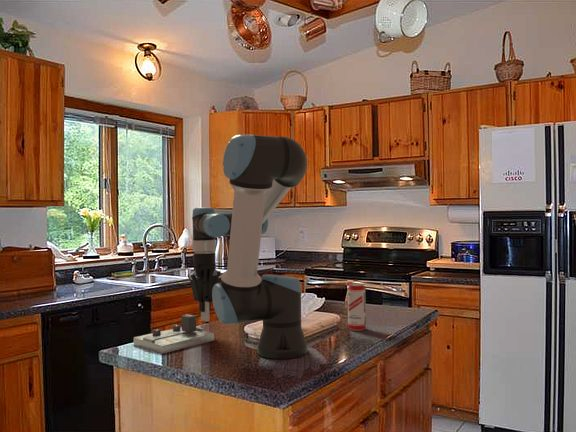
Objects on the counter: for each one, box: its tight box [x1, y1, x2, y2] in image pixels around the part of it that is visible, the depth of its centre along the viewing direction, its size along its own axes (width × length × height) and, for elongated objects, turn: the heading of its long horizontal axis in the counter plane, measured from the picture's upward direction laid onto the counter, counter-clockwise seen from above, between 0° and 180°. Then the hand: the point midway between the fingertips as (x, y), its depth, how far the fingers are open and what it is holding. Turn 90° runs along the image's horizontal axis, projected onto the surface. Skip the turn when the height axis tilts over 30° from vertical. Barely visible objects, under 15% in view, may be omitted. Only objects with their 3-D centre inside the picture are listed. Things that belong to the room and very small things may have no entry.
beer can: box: [347, 282, 367, 332], centre depth 185 cm, size 6×6×16 cm
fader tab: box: [181, 314, 197, 332], centre depth 175 cm, size 4×3×5 cm
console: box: [133, 324, 215, 355], centre depth 171 cm, size 16×20×4 cm
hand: (205, 320), depth 180 cm, fingers closed
